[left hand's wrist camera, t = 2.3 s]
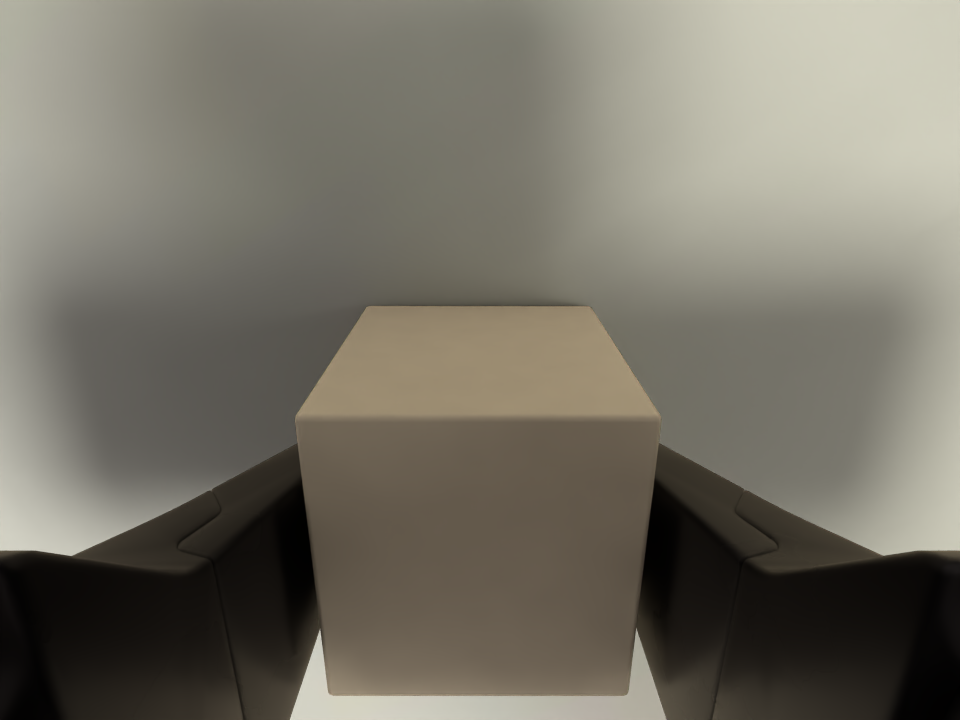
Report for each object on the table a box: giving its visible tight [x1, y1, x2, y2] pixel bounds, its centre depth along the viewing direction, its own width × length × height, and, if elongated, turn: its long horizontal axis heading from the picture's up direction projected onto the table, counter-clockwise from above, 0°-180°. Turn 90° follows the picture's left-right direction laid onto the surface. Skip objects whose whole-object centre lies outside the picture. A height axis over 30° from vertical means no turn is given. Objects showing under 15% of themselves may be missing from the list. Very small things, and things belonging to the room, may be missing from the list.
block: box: [295, 306, 662, 696], centre depth 10 cm, size 4×5×5 cm
